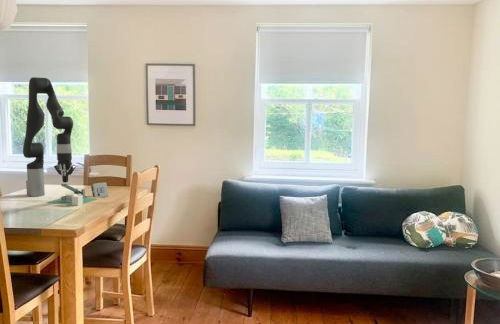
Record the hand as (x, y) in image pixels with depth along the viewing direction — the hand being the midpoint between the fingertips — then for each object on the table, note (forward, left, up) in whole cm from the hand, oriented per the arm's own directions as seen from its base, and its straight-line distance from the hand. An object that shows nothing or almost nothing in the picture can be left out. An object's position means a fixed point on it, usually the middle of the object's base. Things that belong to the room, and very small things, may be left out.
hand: (65, 182), depth 228 cm
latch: (+7, -2, -12) cm, 14 cm away
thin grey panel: (0, +5, -5) cm, 8 cm away
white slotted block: (0, +5, -12) cm, 13 cm away
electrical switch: (+5, +24, -13) cm, 28 cm away
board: (0, +6, -13) cm, 14 cm away
